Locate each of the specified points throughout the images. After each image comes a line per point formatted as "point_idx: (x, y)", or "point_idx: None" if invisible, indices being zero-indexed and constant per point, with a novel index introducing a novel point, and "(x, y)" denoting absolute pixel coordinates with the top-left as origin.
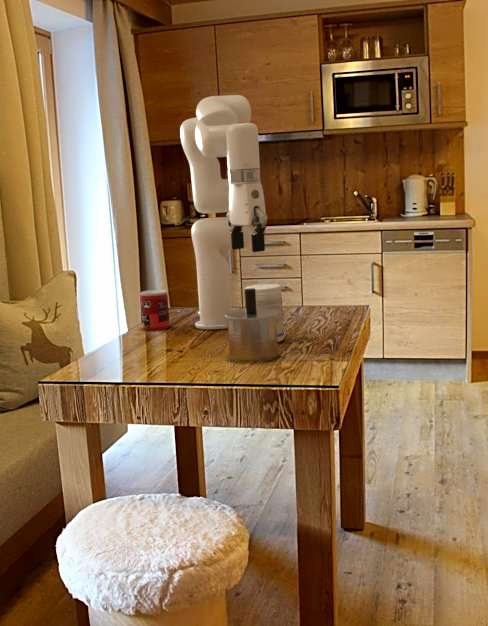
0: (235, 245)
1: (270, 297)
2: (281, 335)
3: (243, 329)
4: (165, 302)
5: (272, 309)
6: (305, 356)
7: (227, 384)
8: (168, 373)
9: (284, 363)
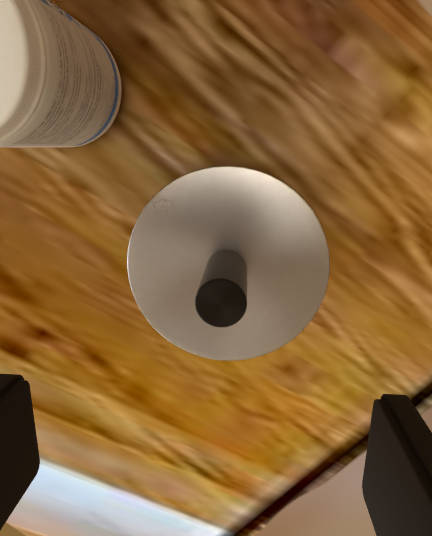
0: (23, 473)
1: (53, 69)
2: (109, 53)
3: None
4: None
5: (225, 170)
6: (323, 112)
7: None
8: (227, 446)
9: (345, 206)
